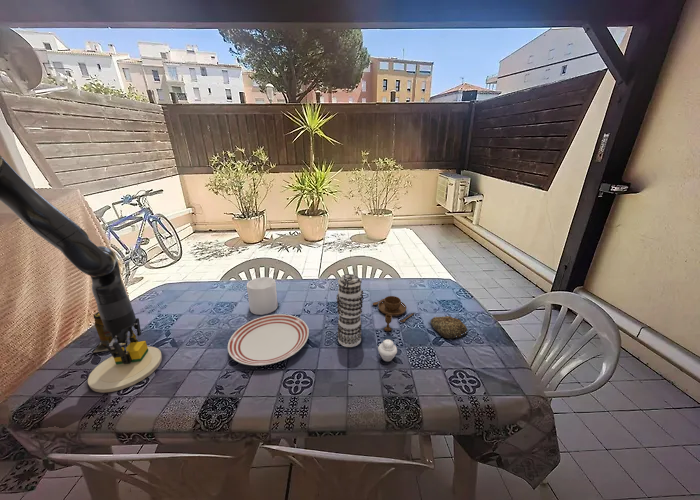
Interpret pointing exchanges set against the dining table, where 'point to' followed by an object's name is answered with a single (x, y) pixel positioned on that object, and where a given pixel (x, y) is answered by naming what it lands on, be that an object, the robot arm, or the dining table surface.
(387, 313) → the place setting
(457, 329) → the mossy brown rock
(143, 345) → the sponge
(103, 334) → the condiment
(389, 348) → the white lidded jar
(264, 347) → the dinner plate
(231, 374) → the dining table surface
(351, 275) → the decorative candle
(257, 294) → the cup
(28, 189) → the robot arm
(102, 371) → the side plate
